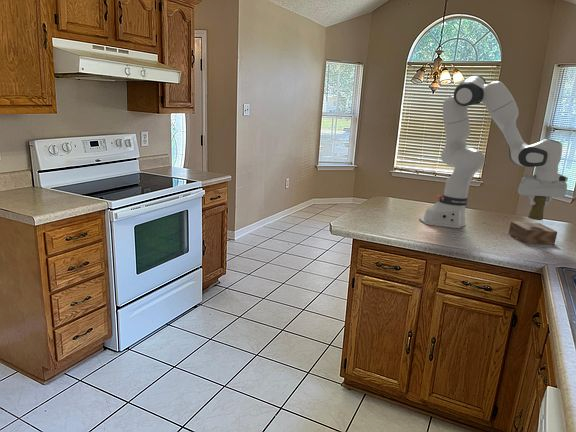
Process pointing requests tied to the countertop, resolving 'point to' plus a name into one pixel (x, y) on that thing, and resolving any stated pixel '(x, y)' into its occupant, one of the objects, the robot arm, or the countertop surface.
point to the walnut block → (532, 232)
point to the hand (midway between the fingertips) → (538, 205)
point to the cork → (537, 208)
